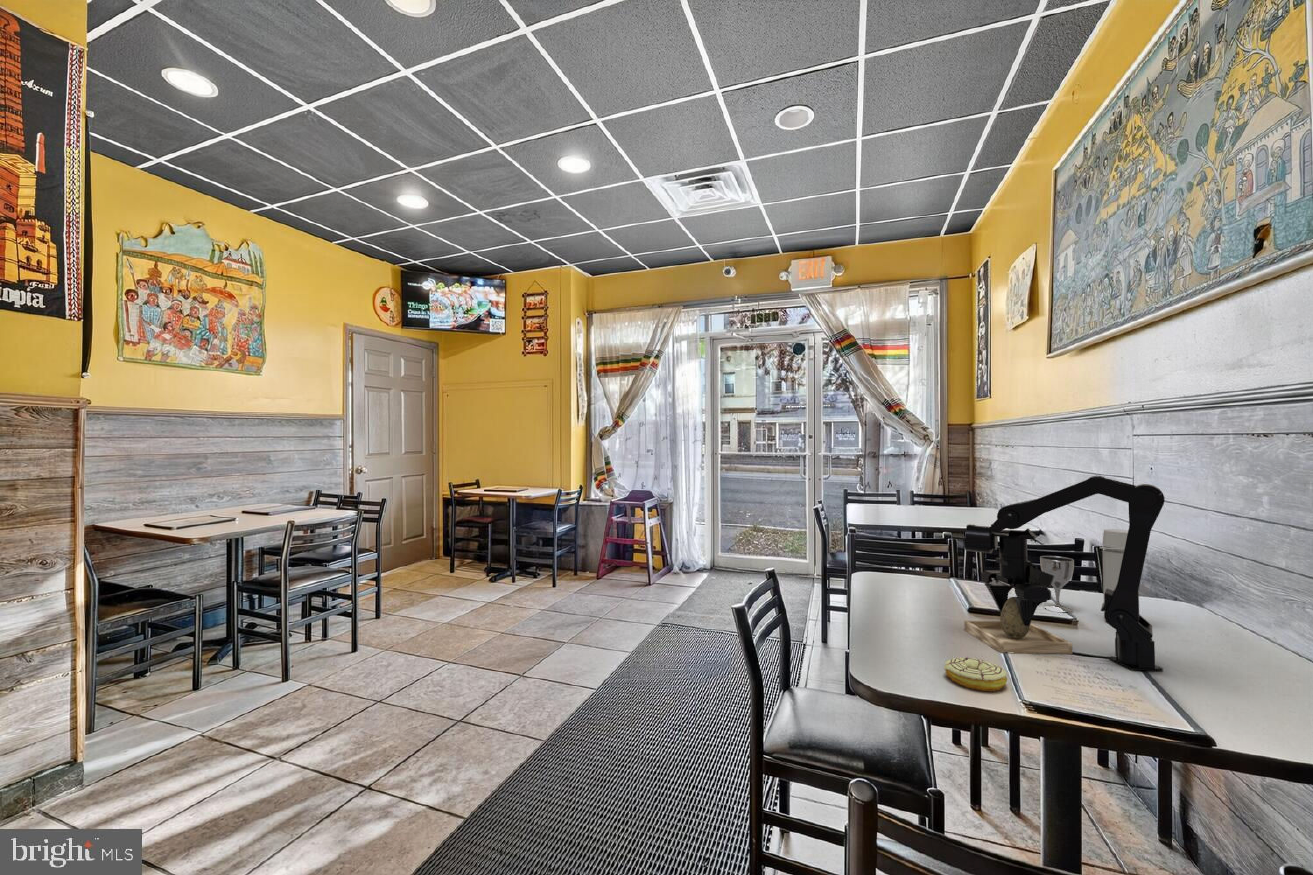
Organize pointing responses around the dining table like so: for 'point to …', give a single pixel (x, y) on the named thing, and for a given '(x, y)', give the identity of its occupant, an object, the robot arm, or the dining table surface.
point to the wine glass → (1058, 573)
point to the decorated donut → (976, 674)
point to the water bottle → (1112, 556)
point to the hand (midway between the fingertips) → (1014, 619)
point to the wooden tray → (1030, 643)
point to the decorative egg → (1012, 620)
